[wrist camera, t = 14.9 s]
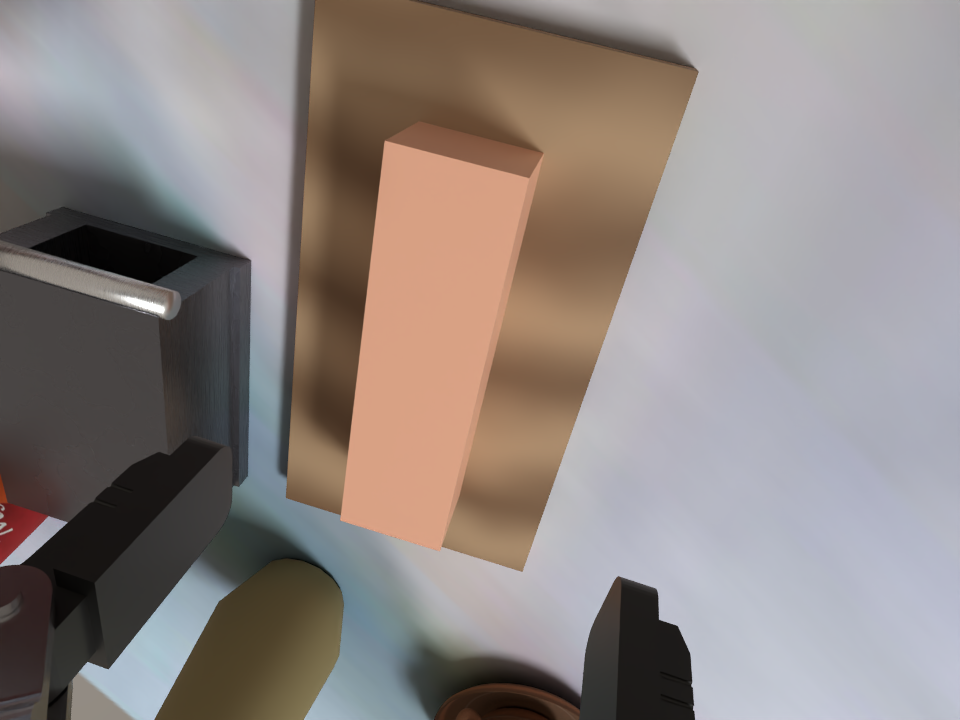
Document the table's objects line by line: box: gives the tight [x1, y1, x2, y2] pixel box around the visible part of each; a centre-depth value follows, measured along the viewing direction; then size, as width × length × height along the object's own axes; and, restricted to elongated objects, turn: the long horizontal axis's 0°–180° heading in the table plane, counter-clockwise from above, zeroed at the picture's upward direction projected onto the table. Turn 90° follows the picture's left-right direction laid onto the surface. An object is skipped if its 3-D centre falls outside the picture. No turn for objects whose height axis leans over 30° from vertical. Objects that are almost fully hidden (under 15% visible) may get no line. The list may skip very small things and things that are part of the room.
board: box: [286, 0, 698, 571], centre depth 30 cm, size 26×14×1 cm, turn 168°
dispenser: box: [0, 207, 251, 522], centre depth 32 cm, size 15×10×7 cm
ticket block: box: [340, 121, 544, 551], centre depth 28 cm, size 18×5×4 cm, turn 168°
